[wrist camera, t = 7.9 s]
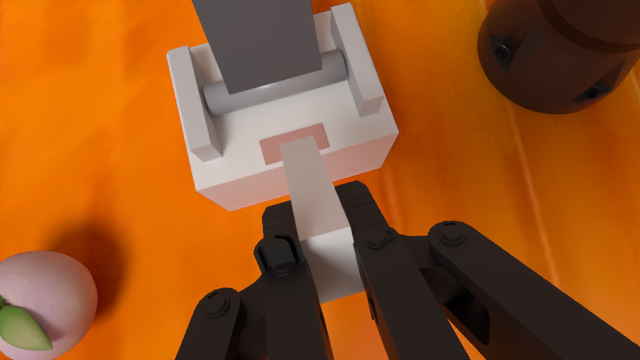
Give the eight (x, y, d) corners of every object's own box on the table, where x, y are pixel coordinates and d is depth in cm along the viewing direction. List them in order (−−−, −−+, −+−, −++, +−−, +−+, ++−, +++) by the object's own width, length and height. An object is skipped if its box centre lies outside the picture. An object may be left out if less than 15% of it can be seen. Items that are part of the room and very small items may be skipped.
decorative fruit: (140, 277, 36) (72, 280, 27) (95, 361, 35) (5, 396, 25) (59, 238, 38) (-34, 226, 28) (12, 317, 36) (-105, 334, 26)
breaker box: (380, 167, 39) (407, 117, 26) (229, 211, 38) (181, 181, 25) (345, 67, 41) (354, -23, 29) (204, 106, 41) (149, 31, 28)
